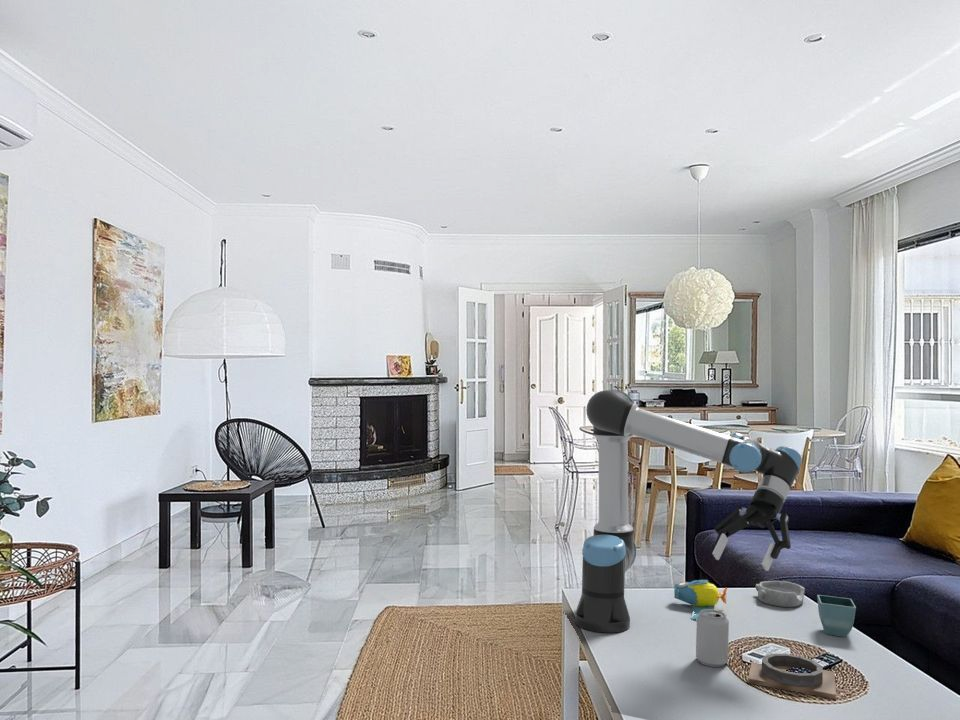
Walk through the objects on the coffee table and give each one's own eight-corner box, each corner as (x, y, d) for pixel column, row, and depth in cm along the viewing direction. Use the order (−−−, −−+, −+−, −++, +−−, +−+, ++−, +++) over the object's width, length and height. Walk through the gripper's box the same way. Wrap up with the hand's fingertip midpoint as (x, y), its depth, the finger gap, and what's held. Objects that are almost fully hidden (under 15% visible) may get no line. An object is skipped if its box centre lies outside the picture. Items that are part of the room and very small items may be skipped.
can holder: (747, 682, 168) (748, 667, 168) (752, 661, 181) (752, 647, 181) (835, 699, 161) (836, 683, 161) (834, 676, 174) (834, 661, 174)
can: (729, 669, 176) (731, 618, 176) (697, 666, 177) (698, 615, 178) (725, 657, 183) (727, 609, 183) (694, 654, 185) (695, 606, 185)
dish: (804, 599, 235) (805, 583, 235) (804, 611, 222) (804, 594, 222) (756, 592, 241) (756, 577, 241) (753, 604, 228) (753, 588, 228)
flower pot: (851, 630, 206) (851, 598, 206) (855, 641, 198) (856, 607, 198) (816, 626, 209) (817, 594, 209) (819, 636, 200) (820, 603, 201)
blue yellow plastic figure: (724, 595, 208) (669, 589, 214) (724, 626, 208) (669, 619, 213) (728, 571, 234) (679, 566, 240) (728, 598, 234) (679, 593, 239)
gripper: (821, 512, 190) (792, 581, 180) (732, 499, 209) (701, 561, 199) (811, 493, 186) (781, 562, 176) (722, 482, 205) (690, 543, 195)
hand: (739, 562), depth 187 cm, fingers open, 13 cm apart
